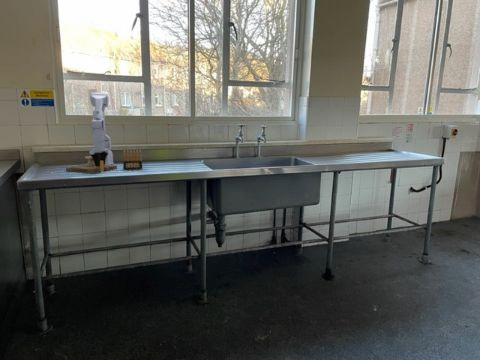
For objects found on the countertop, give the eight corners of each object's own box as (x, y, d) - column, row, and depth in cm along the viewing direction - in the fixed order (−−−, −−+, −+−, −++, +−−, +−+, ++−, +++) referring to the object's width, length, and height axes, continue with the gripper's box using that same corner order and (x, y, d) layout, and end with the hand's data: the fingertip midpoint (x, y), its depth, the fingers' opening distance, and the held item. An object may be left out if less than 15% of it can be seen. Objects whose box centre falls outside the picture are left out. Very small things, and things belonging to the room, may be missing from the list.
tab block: (99, 170, 202) (98, 160, 201) (103, 171, 202) (103, 160, 200) (95, 171, 199) (95, 161, 198) (100, 171, 199) (100, 161, 198)
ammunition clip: (142, 168, 212) (141, 148, 210) (142, 169, 211) (141, 148, 208) (123, 169, 209) (122, 148, 207) (123, 169, 207) (122, 149, 205)
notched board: (89, 166, 216) (89, 163, 216) (116, 168, 210) (116, 165, 210) (66, 170, 200) (65, 167, 199) (95, 173, 193) (95, 170, 193)
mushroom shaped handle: (90, 164, 212) (90, 155, 211) (99, 164, 210) (98, 156, 209) (83, 165, 206) (82, 157, 205) (91, 166, 204) (91, 157, 203)
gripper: (100, 140, 205) (101, 163, 208) (83, 142, 191) (85, 167, 194) (111, 140, 204) (112, 164, 206) (95, 142, 190) (97, 168, 192)
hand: (100, 165), depth 200 cm, fingers open, 4 cm apart
